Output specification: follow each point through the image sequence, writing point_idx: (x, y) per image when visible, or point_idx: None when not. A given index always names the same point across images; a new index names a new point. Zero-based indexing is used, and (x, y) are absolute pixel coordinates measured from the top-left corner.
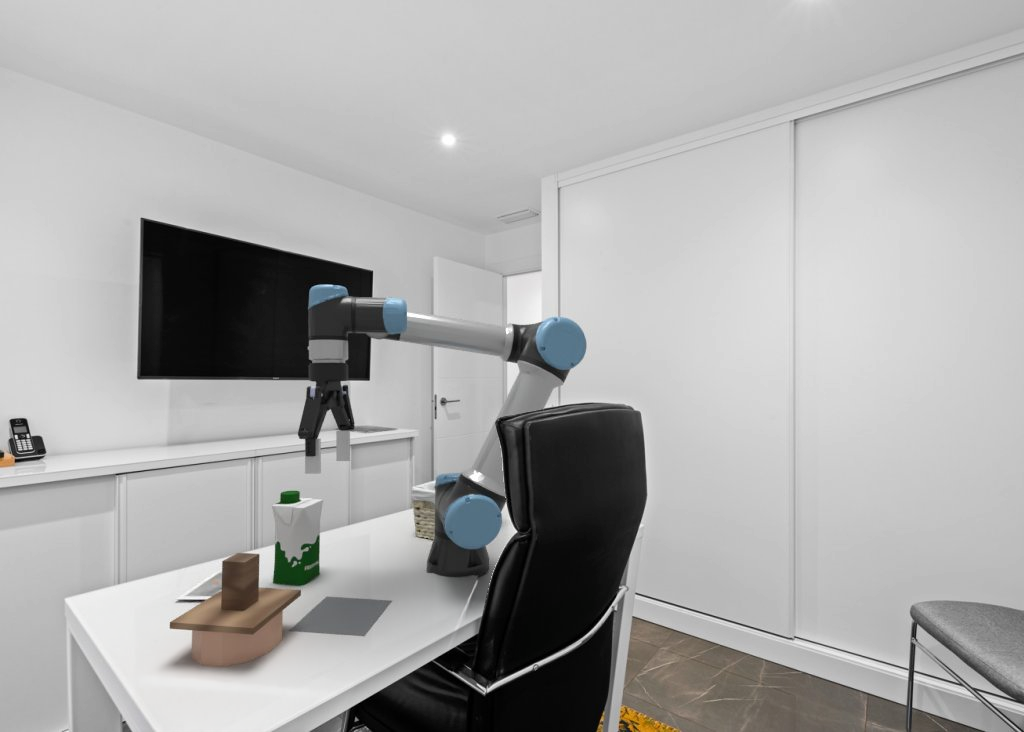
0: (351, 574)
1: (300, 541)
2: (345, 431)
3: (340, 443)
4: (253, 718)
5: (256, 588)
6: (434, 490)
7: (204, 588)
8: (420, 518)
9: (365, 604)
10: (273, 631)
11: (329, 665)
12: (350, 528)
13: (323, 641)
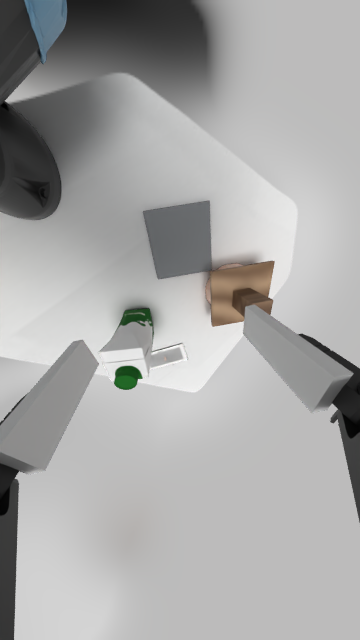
0: (105, 291)
1: (145, 329)
2: (12, 451)
3: (67, 401)
4: (292, 225)
5: (240, 293)
6: None
7: (172, 358)
8: None
9: (159, 235)
10: (238, 265)
11: (241, 211)
12: (18, 356)
13: (212, 239)
